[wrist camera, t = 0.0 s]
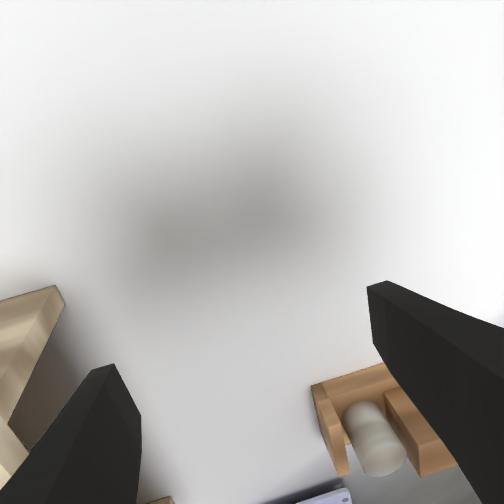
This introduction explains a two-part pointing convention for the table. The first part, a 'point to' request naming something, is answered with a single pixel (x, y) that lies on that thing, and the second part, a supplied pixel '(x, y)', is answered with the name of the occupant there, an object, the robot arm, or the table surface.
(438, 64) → the table surface
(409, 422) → the caddy
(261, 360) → the table surface
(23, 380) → the wooden crate
